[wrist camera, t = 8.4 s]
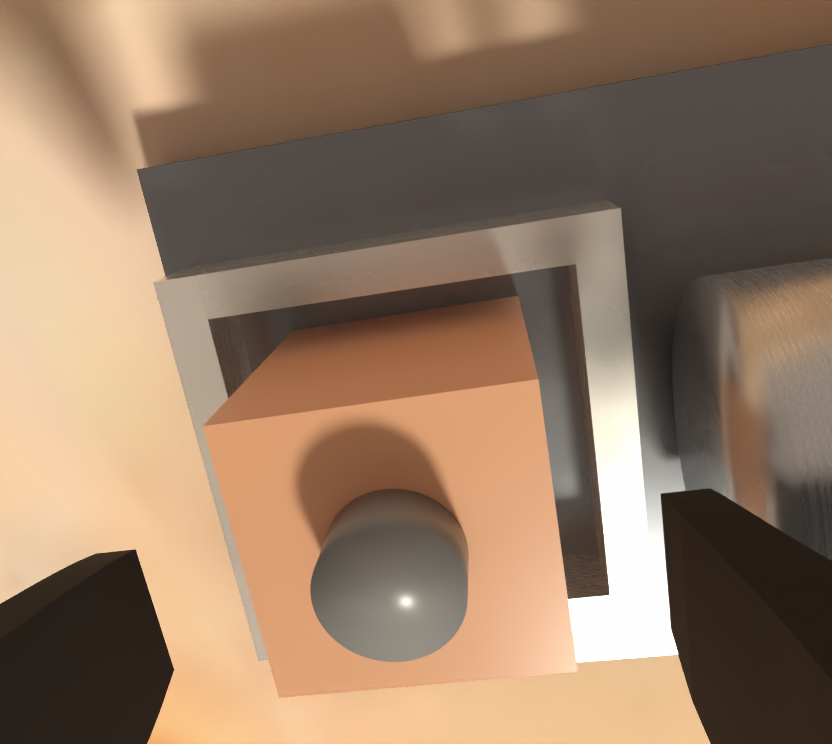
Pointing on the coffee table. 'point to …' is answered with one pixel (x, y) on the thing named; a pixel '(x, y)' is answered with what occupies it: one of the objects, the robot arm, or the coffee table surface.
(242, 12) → the coffee table surface
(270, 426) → the cube with grey knob
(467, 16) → the coffee table surface
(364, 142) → the motor mount
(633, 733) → the coffee table surface
